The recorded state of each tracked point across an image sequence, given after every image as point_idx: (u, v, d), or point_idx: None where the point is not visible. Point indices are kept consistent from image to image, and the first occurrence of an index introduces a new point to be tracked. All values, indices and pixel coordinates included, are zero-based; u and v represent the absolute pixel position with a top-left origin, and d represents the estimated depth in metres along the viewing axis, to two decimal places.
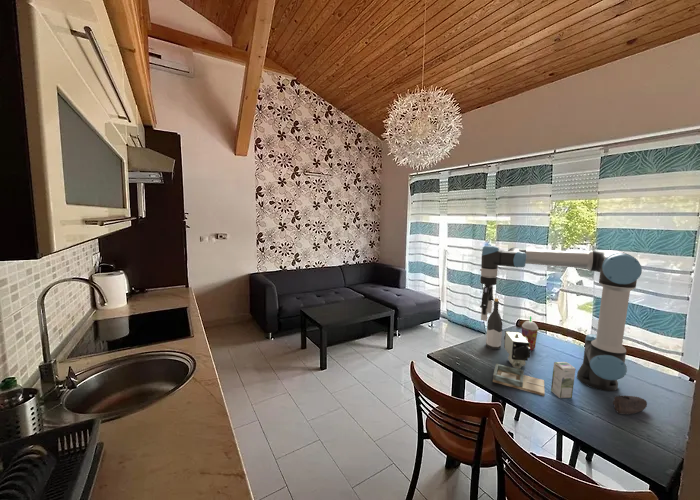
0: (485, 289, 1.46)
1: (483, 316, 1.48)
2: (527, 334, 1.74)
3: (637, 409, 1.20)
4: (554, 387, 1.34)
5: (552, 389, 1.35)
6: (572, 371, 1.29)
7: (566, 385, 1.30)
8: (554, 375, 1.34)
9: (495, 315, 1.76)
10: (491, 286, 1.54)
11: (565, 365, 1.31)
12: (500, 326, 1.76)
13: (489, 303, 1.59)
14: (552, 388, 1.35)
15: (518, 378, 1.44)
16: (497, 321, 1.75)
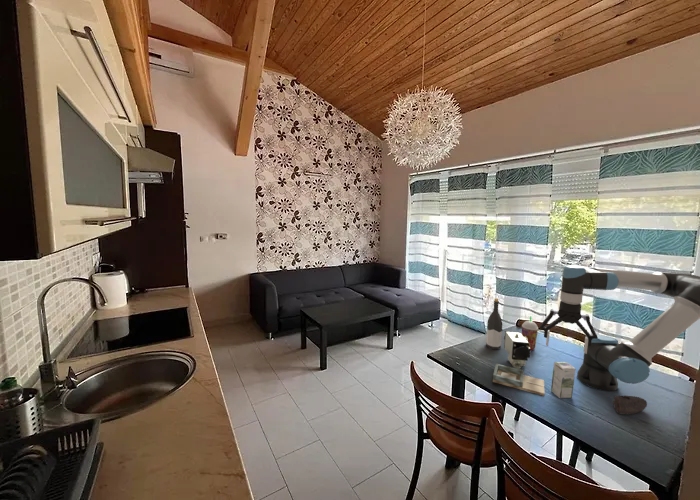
0: (550, 310, 1.32)
1: (546, 339, 1.35)
2: (527, 334, 1.74)
3: (637, 409, 1.20)
4: (554, 387, 1.34)
5: (552, 389, 1.35)
6: (572, 371, 1.29)
7: (566, 385, 1.30)
8: (554, 375, 1.34)
9: (495, 315, 1.76)
10: (579, 317, 1.26)
11: (565, 365, 1.31)
12: (500, 326, 1.76)
13: (585, 340, 1.27)
14: (552, 388, 1.35)
15: (518, 378, 1.44)
16: (497, 321, 1.75)
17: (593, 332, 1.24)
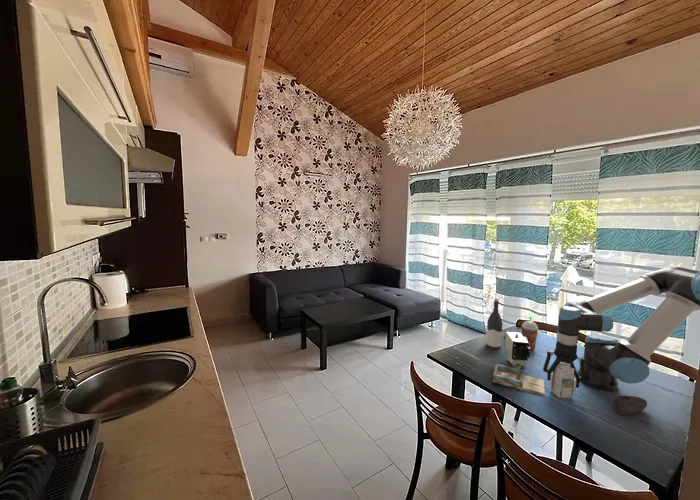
0: (547, 352, 1.35)
1: None
2: (527, 334, 1.74)
3: (637, 409, 1.20)
4: (554, 387, 1.34)
5: (552, 389, 1.35)
6: (572, 371, 1.29)
7: (566, 385, 1.30)
8: (554, 375, 1.34)
9: (495, 315, 1.76)
10: (574, 357, 1.29)
11: (565, 365, 1.31)
12: (500, 326, 1.76)
13: None
14: (552, 388, 1.35)
15: (518, 378, 1.44)
16: (497, 321, 1.75)
17: (583, 375, 1.28)
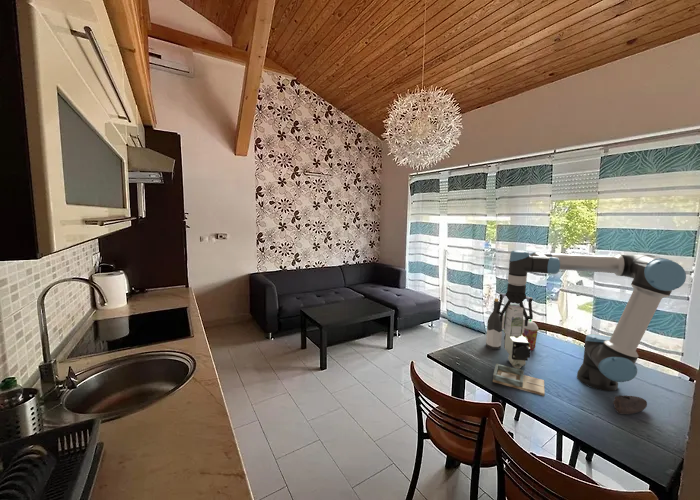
0: None
1: (502, 323, 1.44)
2: (527, 334, 1.74)
3: (637, 409, 1.20)
4: (506, 328, 1.42)
5: (504, 330, 1.44)
6: (521, 310, 1.38)
7: (515, 324, 1.39)
8: (506, 316, 1.43)
9: (495, 315, 1.76)
10: (523, 297, 1.37)
11: (515, 305, 1.40)
12: (500, 326, 1.76)
13: (523, 321, 1.39)
14: (504, 329, 1.44)
15: (518, 378, 1.44)
16: (497, 321, 1.75)
17: (530, 313, 1.36)
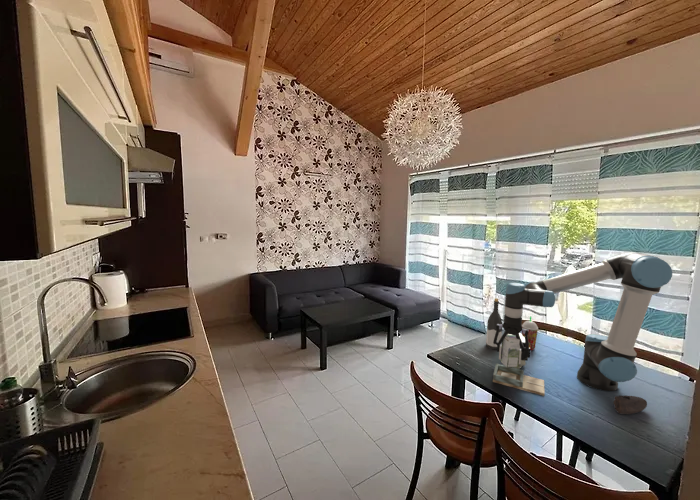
0: None
1: (499, 353, 1.47)
2: None
3: (637, 409, 1.20)
4: (503, 358, 1.45)
5: (501, 360, 1.46)
6: (517, 342, 1.40)
7: (512, 355, 1.41)
8: (503, 347, 1.45)
9: (495, 315, 1.76)
10: (519, 329, 1.40)
11: (512, 337, 1.42)
12: None
13: None
14: (501, 359, 1.46)
15: (518, 378, 1.44)
16: (497, 321, 1.75)
17: (527, 345, 1.39)
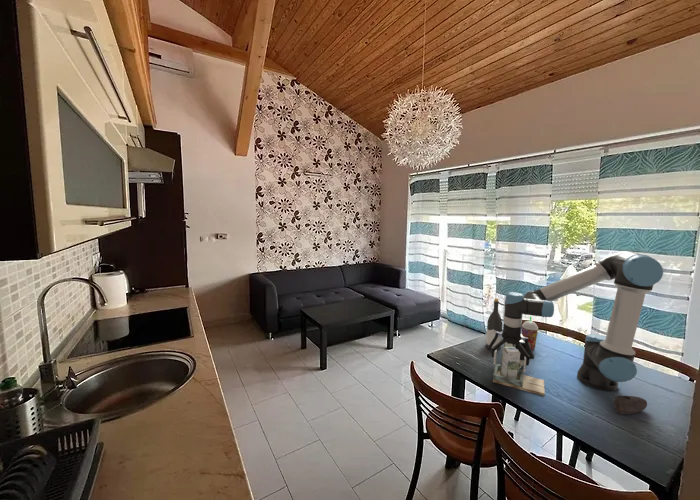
0: None
1: (494, 359, 1.48)
2: (527, 334, 1.74)
3: (637, 409, 1.20)
4: (502, 370, 1.46)
5: (501, 372, 1.47)
6: (517, 354, 1.41)
7: (511, 368, 1.42)
8: (502, 359, 1.46)
9: (494, 315, 1.76)
10: (519, 339, 1.40)
11: (512, 349, 1.43)
12: (500, 326, 1.76)
13: (524, 360, 1.41)
14: (501, 371, 1.47)
15: (518, 378, 1.44)
16: (497, 321, 1.75)
17: (530, 353, 1.38)
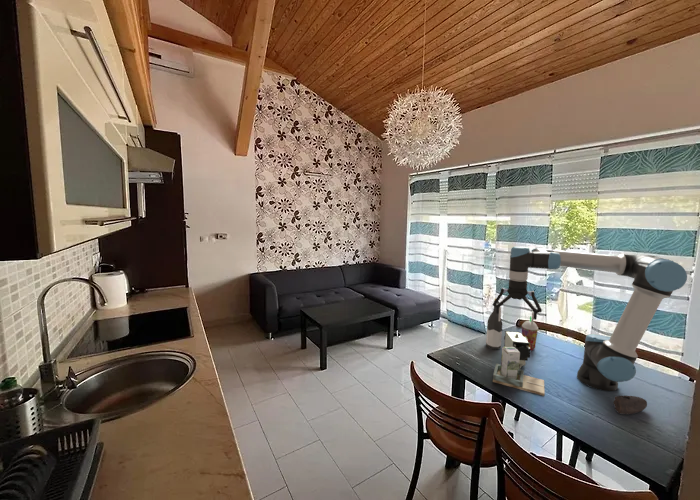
0: (501, 289, 1.44)
1: None
2: (527, 334, 1.74)
3: (637, 409, 1.20)
4: (502, 370, 1.46)
5: (501, 372, 1.47)
6: (517, 355, 1.41)
7: (511, 368, 1.42)
8: (502, 359, 1.46)
9: (495, 315, 1.76)
10: (525, 293, 1.37)
11: (511, 349, 1.43)
12: (500, 326, 1.76)
13: None
14: (501, 371, 1.47)
15: (518, 378, 1.44)
16: (497, 321, 1.75)
17: (538, 306, 1.35)
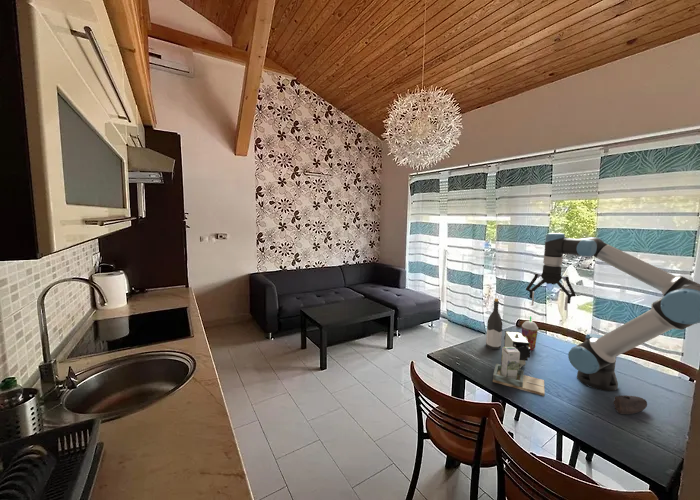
0: (535, 274, 1.49)
1: None
2: (527, 334, 1.74)
3: (637, 409, 1.20)
4: (502, 370, 1.46)
5: (501, 372, 1.47)
6: (517, 355, 1.41)
7: (511, 368, 1.42)
8: (502, 359, 1.46)
9: (495, 315, 1.76)
10: (559, 278, 1.42)
11: (511, 349, 1.43)
12: (500, 326, 1.76)
13: (565, 299, 1.43)
14: (501, 371, 1.47)
15: (518, 378, 1.44)
16: (497, 321, 1.75)
17: (572, 290, 1.40)
